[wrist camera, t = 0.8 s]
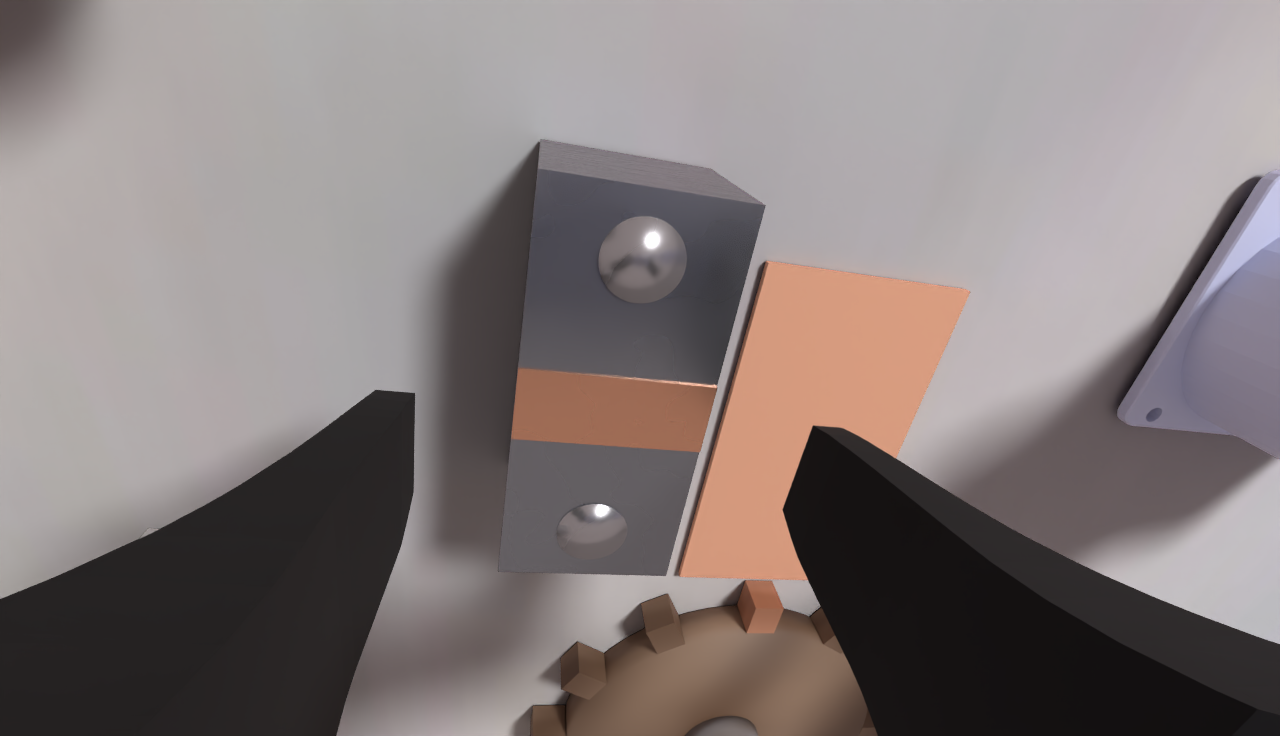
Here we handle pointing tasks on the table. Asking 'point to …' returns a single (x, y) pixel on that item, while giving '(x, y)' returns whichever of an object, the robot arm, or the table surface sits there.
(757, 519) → the copper rectangular plate
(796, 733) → the sprocket
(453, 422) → the table surface
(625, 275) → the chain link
